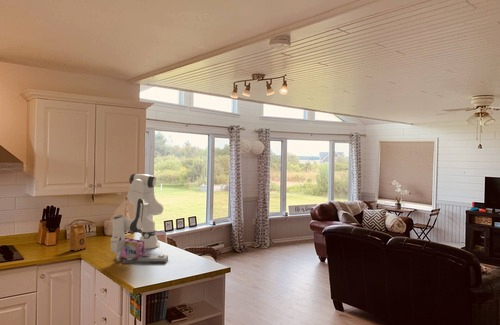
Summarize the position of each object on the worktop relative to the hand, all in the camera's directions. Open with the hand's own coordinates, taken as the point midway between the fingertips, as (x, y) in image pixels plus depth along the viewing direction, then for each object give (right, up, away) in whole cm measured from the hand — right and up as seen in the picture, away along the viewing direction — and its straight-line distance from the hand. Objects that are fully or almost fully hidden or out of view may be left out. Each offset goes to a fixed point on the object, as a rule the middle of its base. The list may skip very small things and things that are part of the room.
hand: (118, 255), depth 279 cm
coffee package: (-49, -5, +38) cm, 62 cm away
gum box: (+6, -5, +12) cm, 14 cm away
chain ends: (+21, -5, -2) cm, 22 cm away
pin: (0, -5, 0) cm, 5 cm away
